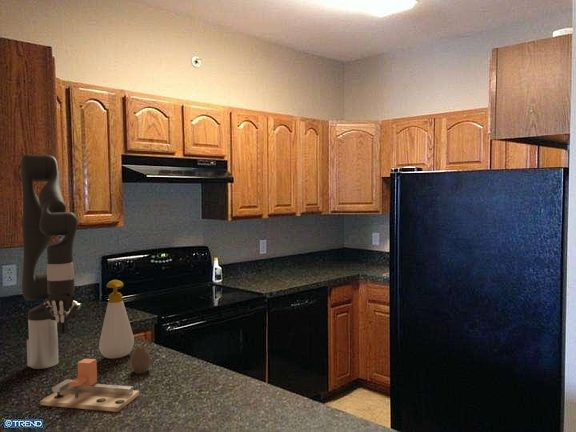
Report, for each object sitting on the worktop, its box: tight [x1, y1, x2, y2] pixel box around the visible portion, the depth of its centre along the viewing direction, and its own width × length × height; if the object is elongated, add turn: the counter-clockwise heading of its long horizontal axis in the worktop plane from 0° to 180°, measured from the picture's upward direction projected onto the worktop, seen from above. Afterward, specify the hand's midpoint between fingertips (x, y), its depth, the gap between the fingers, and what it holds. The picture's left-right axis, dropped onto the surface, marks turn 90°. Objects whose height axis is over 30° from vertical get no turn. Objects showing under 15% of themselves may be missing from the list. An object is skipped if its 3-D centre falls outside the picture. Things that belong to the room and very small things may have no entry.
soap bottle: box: [98, 279, 135, 360], centre depth 183 cm, size 13×10×29 cm
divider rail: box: [51, 378, 134, 397], centre depth 146 cm, size 23×8×3 cm, turn 78°
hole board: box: [39, 389, 141, 413], centre depth 146 cm, size 25×12×1 cm, turn 78°
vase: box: [129, 344, 152, 374], centre depth 168 cm, size 7×7×9 cm
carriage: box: [70, 358, 98, 398], centre depth 147 cm, size 4×8×9 cm, turn 168°
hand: (62, 333), depth 150 cm, fingers closed
